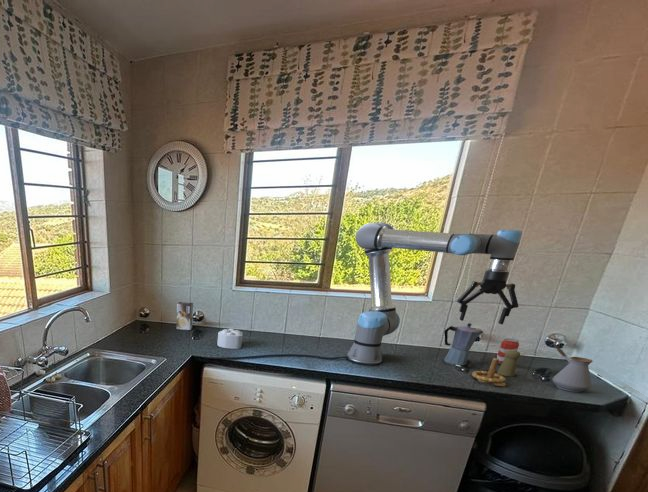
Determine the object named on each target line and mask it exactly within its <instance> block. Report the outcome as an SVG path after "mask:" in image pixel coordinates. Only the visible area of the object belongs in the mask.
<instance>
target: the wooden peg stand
mask: <svg viewBox="0 0 648 492" xmlns="http://www.w3.org/2000/svg"><path fill="white" fill-rule="evenodd" d="M498 361H499V359H497V358H496V357H493V358H492V361H491V363H490V366H489V368H488V371H487V372H488V375H481V374H480V375H479V376H482V377H486V378H491V379H498V378H496V377H493V376H494V373H495V372H496V369H497V367H498ZM477 381H478V382H480V383H487V384H491V385H492V386H498V387H506V386H507V383H506V382H505V381H504V382H503V383H492V382H486V381H482V380H479V379H477Z"/></svg>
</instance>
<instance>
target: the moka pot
mask: <svg viewBox="0 0 648 492" xmlns="http://www.w3.org/2000/svg"><path fill="white" fill-rule="evenodd" d="M472 326H473V324H472V323H467V325H466V326H453V325H450V326H448V327H447V328H445V329H444V331H443V332H444V345H445V346H449V347H450V346H451V347H450V348H449V350H448V352H447V354H446V356H445V357H444V359H443V362H445V363H448V364H451V365H454V366H455V365H456V366H466V365H467V362H468V358H469V354H470V352H471V348H472V347H473V345H474V343H475V341H476V339H478V337H480V336H481V335H482V334H483V333H484V331H482V329H478V328H474V327H472ZM449 331H452V332H454V335H453V340H452V344H451V343H449V342H448V340H449V339H448V338H449V336H448V335H449V333H448V332H449Z"/></svg>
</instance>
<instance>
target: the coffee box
mask: <svg viewBox="0 0 648 492" xmlns="http://www.w3.org/2000/svg"><path fill="white" fill-rule="evenodd" d="M193 308H194V303H193V302H186V301H179V302H177V304H176V330H182V331H191V330H192V329H193V316H194V315H193V313H194V309H193Z"/></svg>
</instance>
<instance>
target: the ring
mask: <svg viewBox="0 0 648 492" xmlns="http://www.w3.org/2000/svg"><path fill="white" fill-rule="evenodd" d="M488 372H489V371H486V370H474V371H472V373H471V374H470V375H471V376H472V377H473V378H474V379H476V380H478V379H479V380H482V381H486V382H485V383H487V382H492V383H503V382H504V383H505V382H506V377H505V376H504V375H500V374H498V373H497V372H496V373H494V376H493V377H496V378H498V379H491V378H486V377H482V376H479V375H488ZM492 383H491V384H492Z"/></svg>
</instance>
